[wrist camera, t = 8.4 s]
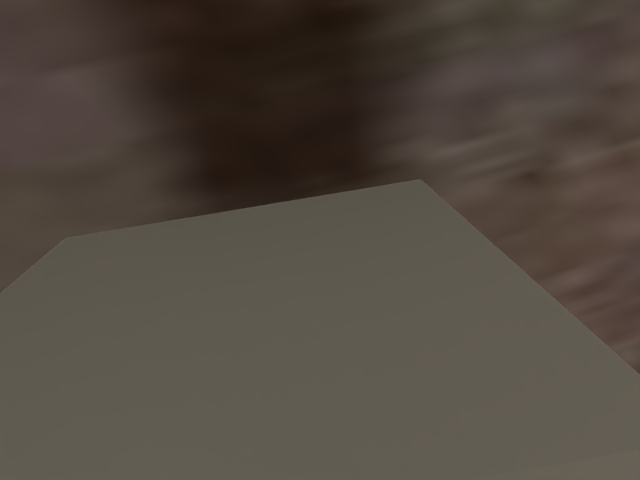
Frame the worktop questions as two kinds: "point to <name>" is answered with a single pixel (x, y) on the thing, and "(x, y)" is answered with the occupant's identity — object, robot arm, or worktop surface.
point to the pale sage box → (305, 354)
